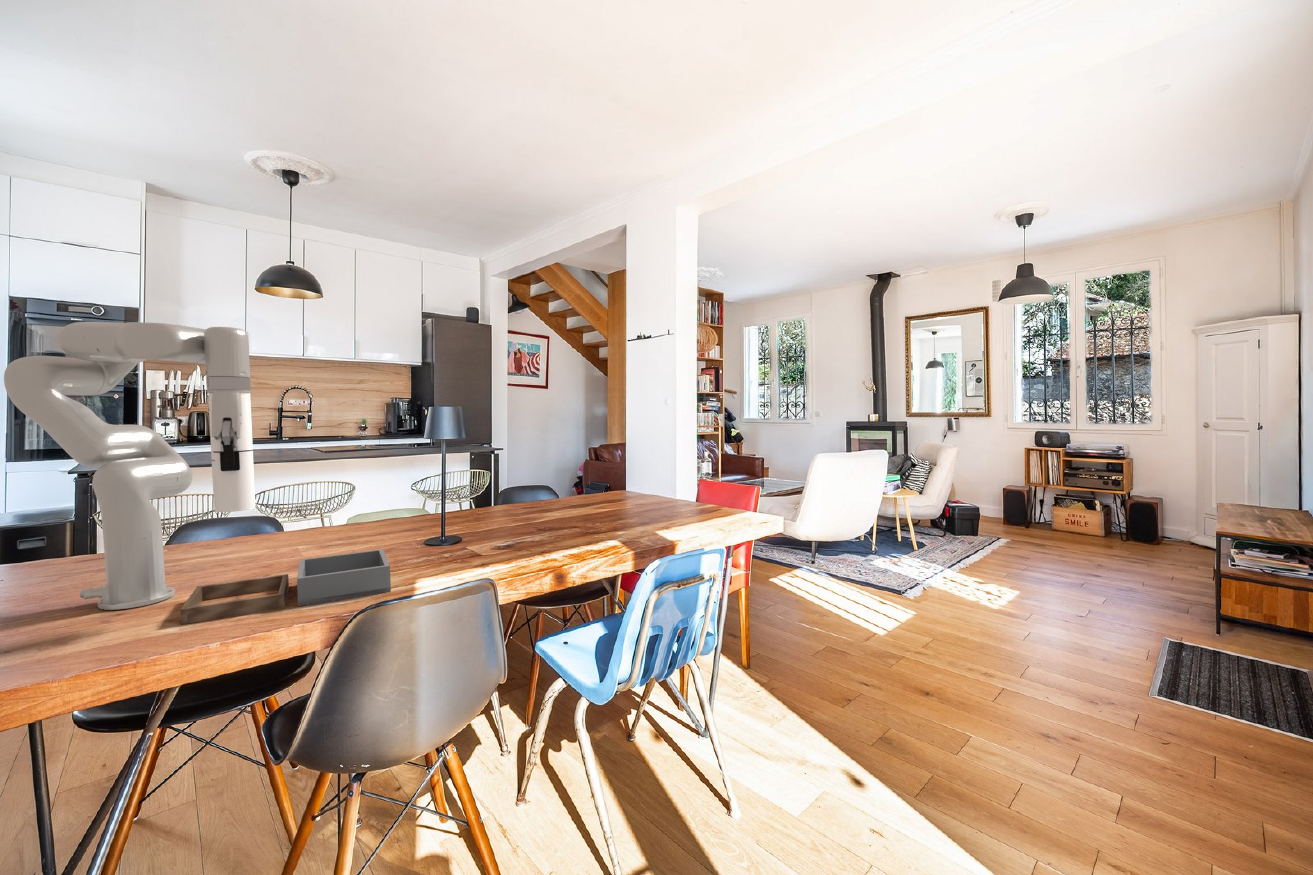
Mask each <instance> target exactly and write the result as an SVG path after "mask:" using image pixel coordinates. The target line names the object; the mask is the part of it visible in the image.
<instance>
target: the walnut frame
mask: <svg viewBox="0 0 1313 875" xmlns="http://www.w3.org/2000/svg"><path fill="white" fill-rule="evenodd" d="M289 581H290V580H289V573H287V574H279V575H271V576H264V577H263V576H262V577H256V578H250V579H249V578H248V579H243V580H242V579H241V580H233V581H227V582H220V583H212V584H204V585H198V586H196V587H195V588H194V590H193V591H192V592H191V594H190V596H189V597H188V599H187V600H185V603H184V604H183V605H182V607H181V608H180V610H179V611H180V615H179V616H180V625H187V624H188V625H189V624H191V623H193V624H194V623H200V622H207V621H211V620H219V619H224V618H225V619H226V618H229V617H230V618H231V617H237V616H238V617H239V616H243V615H249V614H254V613H255V614H256V613H262V612H268V611H274V610H280V609H285V608H286V602H287V598H288V594H289V593H288V592H289V588H290V585H289V584H290V582H289ZM274 590H278V593H274V594H267V595H260V596H253V597H246V598H241V599H235V600H234V599H233V600H227V601H226V600H225V601H221V602H214V603H207V604H202V602H203V601H208V600H211V599H212V600H213V599H218V598H225V597H226V598H227V597H233V596H239V595H247V594H254V593H260V592H266V591H267V592H268V591H274Z"/></svg>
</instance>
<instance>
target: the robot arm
mask: <svg viewBox="0 0 1313 875" xmlns="http://www.w3.org/2000/svg"><path fill="white" fill-rule="evenodd" d="M249 340H250V339H249V335H248V333H247V331H245V330H244V329H242V328H237V327H231V326H229V327H228V326H210V327H207V328H199V327H193V326H186V325H182V324H181V325H180V324H172V323H165V322H163V323H162V322H144V321H143V322H142V321H141V322H139V321H138V322H137V321H132V322H131V321H129V322H108V321H107V322H106V321H105V322H101V321H76V322H73V323H70V324H67V325H65V326H63V327H62V328H61V329H60V330H59V331H58V333H57V335H56V343H57V345H58V347H59V348H60V350H62V352H64V353H65V354H67V355H68V356H70V357H68V356H67V357H66V356H56V355H55V356H53V355H34V356H33V355H31V356H30V355H29V356H23V357H19V358H18V359H14V360H13V361H11V362H10V363H9V364H8V365H7V366H5V370H4V373H3V374H4V375H3V384H4V388H5V391H6V393H7V395H8V397H9V399H10V401H11V402H12V404H13V405H14V406H15V407H16V408H17V409H18V410H19V411H20V412H21V413H23V414H24V415H25V416H26V417H27V418H29V420H31V421H33V422H34V423H35V424H36V425H38V426H39V427H40V428H42V429H43V431H45V432H46V433H47V434H48V435H49V436H50V437H51V438H52V440H53V441H55V442H56V444H57V445H59V447H61V448H62V449H63V450H64V451H65V453H67V454H68V455H69V457H70V458H72V459H73V460H74V461H75V462H76V463H78V464H79V465H81V466H82V467H85V468H89V469H97V470H96V471H95V472H94V475H93V477H92V488H93V491H94V495H95V497H96V500H97V504H98V506H99V511H100V517H101V525H102V526H101V528H102V536H103V538H102V539H103V552H104V566H105V584H102V585H101V586H100V587H89V588H81V589H80V591H79V597H80V598H81V599H84V600H89V599H95V598H99V599H100V600H98V602H97V608H98V609H100V610H103V609H104V610H105V611H106V610H107V611H114V610H126V609H134V608H138V607H140V608H141V607H145V606H149V605H152V604H156V603H159V602H162V601H165V600H168V599H169V598H171V597H173V596H174V595H175V594H176V589H175V588H174V587H172V586H167V585H166V575H165V574H166V572H165V571H166V570H165V559H164V558H165V555H164V541H163V539H164V538H163V527H162V526H163V525H162V518H161V515H160V513H159V511H158V510H157V508H156V507H155V506H154V505H153V504H152V502H151V501H150V500H153V499H160V498H165V497H171V496H176V495H179V494H181V493H183V492H185V491H186V490H188V488H189V487H191V485H192V482H193V474H192V473H193V472H192V470H191V468H190V465H189V463H187V461H186V460H185V459H184V458H183V457H182V456H181V454H179V453H178V452H177V450H175V448H173V447H172V446H171V445H170V444H169V443H168V442H167V441H166V440H165V439H164V438H163V437H162V436H161V435H160V434H159V433H157V431H155V430H153V429H151V428H150V427H147V426H144V425H141V424H111V423H107V422H105V421H104V420H103V419H102V418H100V417H99V416H98V415H97V414H95V412H94V411H93V410H92V409H91V408H89V407H88V406H86V405H85V404H84V403H81V402H79V401H77V400H75V399H72V398H71V397H69V396H98V395H103V394H106V393H108V392H109V391H111V390H112V389H114V388H115V387H117V385H118V384H119V383H120V382H121V381H122V380H124V378H125V377H126V376H127V375H128V374H129V373H130V372H131V371H132V370H133V369H134V368H135V367H136V366H137V365H138V364H140V363H142V362H145V361H147V360H151V361H164V362H180V363H190V364H203V365H205V377H206V378H205V379H206V380H205V382H206V383H205V384H206V393H207V394H208V393H213V394H212V438H213V439H215V440H217V439H216V438H215V437H219V436H220V432H221V430H222V432H221V438H220V439H221V441H220V451H221V452H220V468H221V471H238V470H240V457H239V451H237V446H238V441H237V440H238V439H239V438H241V436H242V422H243V419H242V401H241V393H250V394H251V393H252V384H251V366H250V365H251V364H250V343H249V342H250V341H249ZM231 425H232V429H234V431H236V432H235V437H231V435H230V433H231ZM233 443H234V445H233Z"/></svg>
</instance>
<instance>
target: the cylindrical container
mask: <svg viewBox="0 0 1313 875" xmlns="http://www.w3.org/2000/svg"><path fill="white" fill-rule="evenodd" d="M207 394H208V397H207V398H208V413H209V416H208V418H209V434H210V435H209V436H210V453H211V455H210V458H211V475H212V476H211V477H212V493H213V510H214V512H216V513H234V512H242V511H243V512H245V511H248V510H253V509H255V508H256V488H255V468H254V466H255V465H254V450H253V449H254V448H253V446H254V444H253V428H252V427H253V426H252V424H253V423H252V404H251V393H241V401H242V419H243V422H242V436H241V438H239V439H238V440H237V441H238V446H237V451H239V457H240V470H238V471H221V468H220V452H221V451H220V441H221V439H220V438H221V432H222V430H221V432H220V436H219V437H215V438H216V439H217V440H215V439H213V438H212V394H213V393H207ZM235 432H236V431H234V429H232V425H231V433H230V435H231V437H235ZM233 445H234V443H233Z"/></svg>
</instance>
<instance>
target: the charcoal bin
mask: <svg viewBox="0 0 1313 875" xmlns="http://www.w3.org/2000/svg"><path fill="white" fill-rule="evenodd" d="M296 576H297V578H296V587H297V604H298V605H297V606H298V607H302V605H304V606H308V605H307V604H310V605H315V604H321V603H328V602H329V603H330V602H334V601H333V600H335V601H342V600H347V599H353V598H352V597H354V598H358V597H357V596H360V597H364V596H363V595H366V596H371V595H372V596H373V595H376V594H377V595H378V594H384V592H385V593H391V592H392V587H391V566H390V563H389V561H388V558H387V555H386V553H385V550H384V549H383V548H382V549H373V550H365V551H358V552H347V553H342V554H341V553H340V554H335V555H334V554H333V555H326V556H318V557H311V558H302V559H299V564H298V571H297V575H296ZM390 591H391V592H390Z"/></svg>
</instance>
